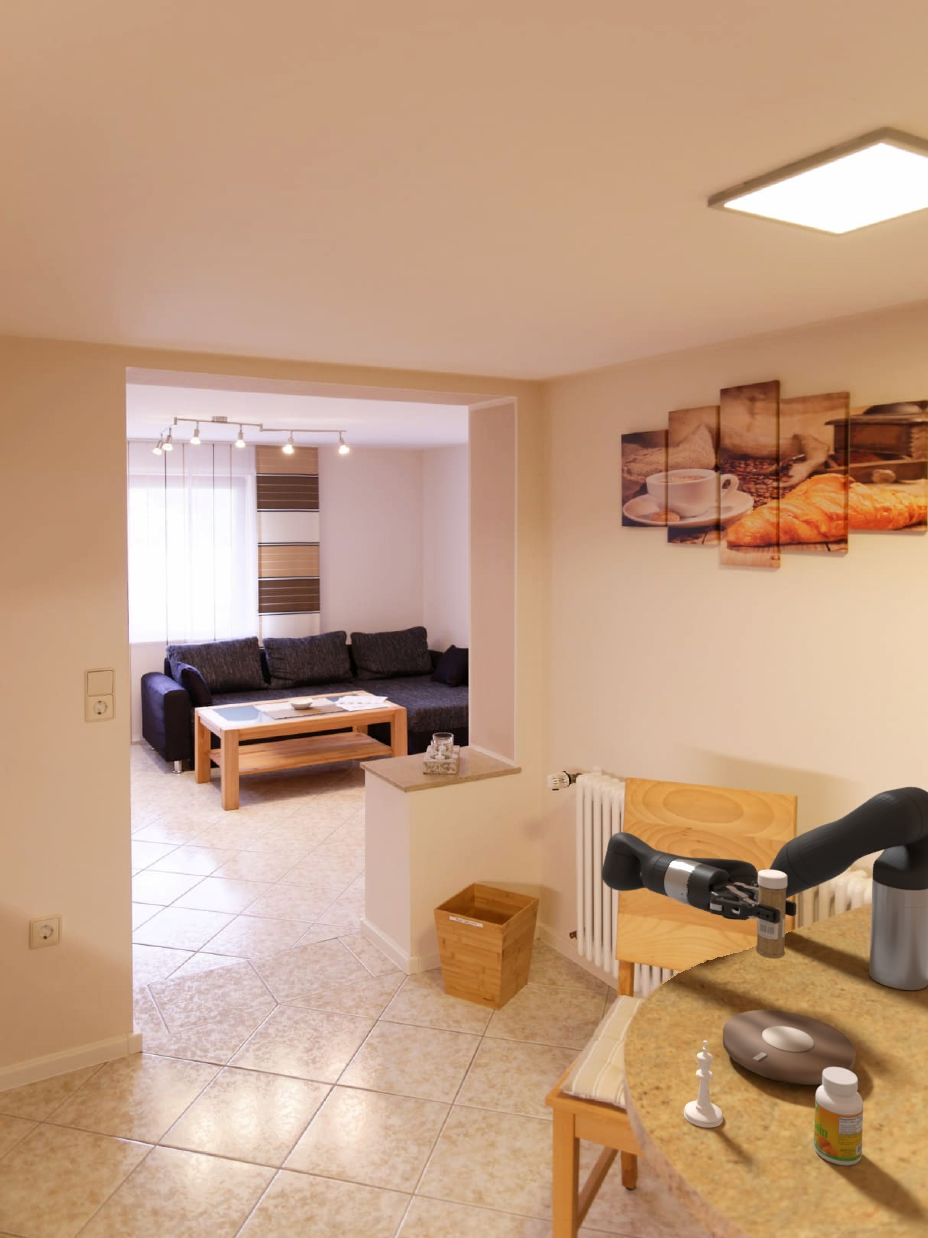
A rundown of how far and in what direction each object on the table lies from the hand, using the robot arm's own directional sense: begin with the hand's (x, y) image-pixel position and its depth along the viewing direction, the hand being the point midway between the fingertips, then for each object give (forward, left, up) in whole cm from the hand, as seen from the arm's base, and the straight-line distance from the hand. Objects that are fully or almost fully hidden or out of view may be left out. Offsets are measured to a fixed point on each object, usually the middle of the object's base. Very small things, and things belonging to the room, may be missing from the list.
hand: (786, 913), depth 149 cm
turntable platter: (+14, +9, -14) cm, 22 cm away
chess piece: (+35, +9, -16) cm, 40 cm away
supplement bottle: (+29, +24, -16) cm, 41 cm away
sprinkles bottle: (0, -3, -8) cm, 8 cm away
